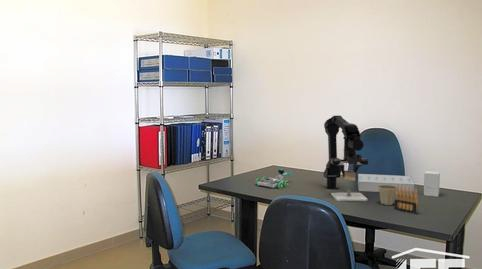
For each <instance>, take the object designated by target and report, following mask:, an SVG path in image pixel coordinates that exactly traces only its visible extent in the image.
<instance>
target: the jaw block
mask: <svg viewBox="0 0 482 269" xmlns="http://www.w3.org/2000/svg"><path fill="white" fill-rule="evenodd" d="M344 173H345V176H344V177H343V176H342V179H343V180H345V181H350V182H351V181H354V182H355V181H356V175H357V172H356V173H355V172H353V170H344ZM355 174H356V175H355Z"/></svg>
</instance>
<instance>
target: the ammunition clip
mask: <svg viewBox="0 0 482 269" xmlns="http://www.w3.org/2000/svg"><path fill="white" fill-rule="evenodd" d="M418 198H419V197H418V188H417V187H415V192H414V191H413V187H412V189H411V194H410V188H409V187H408V189H407V193H406V187H404V192H403V189H402V186H401V187H400V193H399V186H398V185H397V188H396V193H395V198H394V206H393V210H395V211H399V212H405V213H409V214H414V215H418V214H419V203H418Z"/></svg>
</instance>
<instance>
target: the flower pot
mask: <svg viewBox="0 0 482 269" xmlns="http://www.w3.org/2000/svg"><path fill="white" fill-rule="evenodd" d="M378 188H379V192H378V193H379V200H380V204H381V205H386V206H392V205H395V198H396V193H395V192H396V188H397V187H396V186H392V185H379V186H378Z"/></svg>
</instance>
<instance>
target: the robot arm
mask: <svg viewBox="0 0 482 269" xmlns="http://www.w3.org/2000/svg"><path fill="white" fill-rule="evenodd" d="M323 127H324V132H325V133H326V135H327V142H328V143H327V144H328V147H327V149H328V150H327V151H328V161H327V163H326V165H325V169H324V171H323V173H322V174H323V177H324V178H325V179H326V184H325V185H324V187H325V188H326V189H329V190H330V189H332V190H333V189H339V187H338V186H337V184H338V180H337V179H338V178H341V175H342V178H343V177H344V176H345V173H344V171H345V165H346V164H348V165H353V168H352V169H353V170H352V171H353V172H355V173H356V174H355V176H356V175H357V173H358V170H359V169H360V167H363V165H364V166H365V165H369V160H368V159H367V158H366V157H362V154H356V153H357V152H359V151H361V150H363V148H364V146H365V145H364V142H363V140H361V132H360V130H359V127H358V126H357V124H354V123H352V122H351V123H350V122H348V121H347V120H346V119H344V118H343V116H342V115H332V116H331V117H330V118H328V119H326V120H325V122H324V124H323ZM340 129H341V133H342V134H343V142H344V143H343V159H340V158H339V157H338V145H337V144H338V143H337V142H338V141H337V135H338V134H339V132H340ZM356 151H357V152H356ZM344 164H345V165H344Z"/></svg>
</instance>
